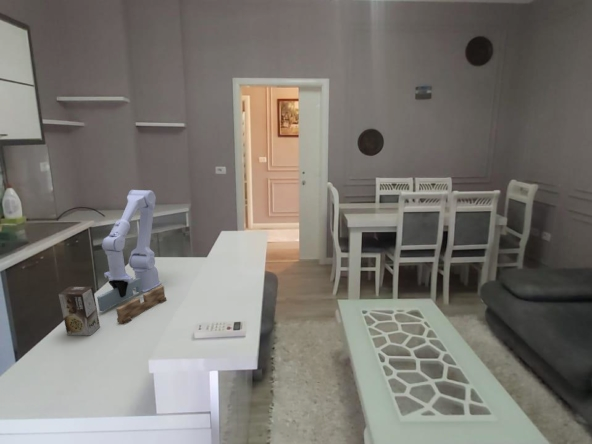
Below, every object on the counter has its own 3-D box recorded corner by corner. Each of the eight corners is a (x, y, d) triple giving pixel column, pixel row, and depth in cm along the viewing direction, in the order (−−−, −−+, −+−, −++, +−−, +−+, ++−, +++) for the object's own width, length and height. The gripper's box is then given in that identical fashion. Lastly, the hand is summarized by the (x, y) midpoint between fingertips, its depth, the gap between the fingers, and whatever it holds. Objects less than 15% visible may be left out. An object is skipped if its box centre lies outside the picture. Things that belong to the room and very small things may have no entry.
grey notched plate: (102, 311, 150) (99, 297, 149) (99, 310, 151) (97, 296, 149) (142, 290, 168) (140, 278, 166) (140, 290, 168) (138, 277, 167)
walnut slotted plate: (160, 298, 163) (158, 285, 162) (167, 299, 162) (165, 286, 160) (116, 322, 144) (114, 308, 143) (123, 324, 143) (121, 310, 141)
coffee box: (100, 326, 142) (94, 286, 138) (90, 336, 136) (82, 294, 132) (77, 325, 143) (70, 285, 139) (66, 335, 137) (57, 293, 132)
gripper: (95, 265, 155) (101, 296, 158) (121, 271, 149) (125, 303, 152) (110, 259, 161) (115, 289, 165) (135, 265, 155) (140, 296, 158)
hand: (121, 295), depth 159 cm, fingers closed on grey notched plate, 2 cm apart
